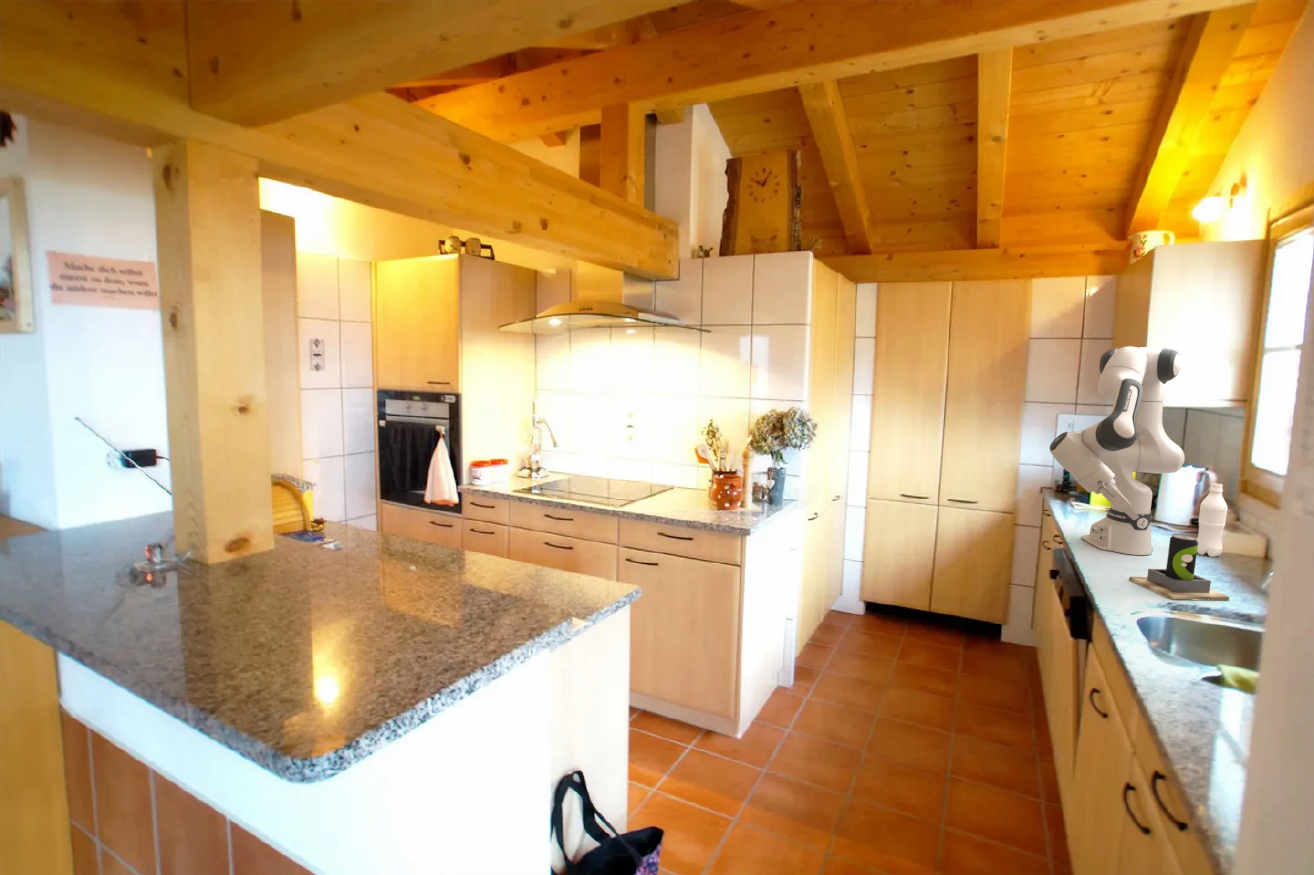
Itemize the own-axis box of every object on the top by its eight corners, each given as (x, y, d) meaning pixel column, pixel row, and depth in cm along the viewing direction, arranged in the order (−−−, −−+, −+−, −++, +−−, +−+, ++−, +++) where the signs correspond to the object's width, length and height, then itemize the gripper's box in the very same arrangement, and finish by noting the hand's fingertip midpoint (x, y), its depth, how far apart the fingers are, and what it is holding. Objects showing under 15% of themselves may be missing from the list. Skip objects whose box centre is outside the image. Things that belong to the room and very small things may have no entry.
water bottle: (1227, 557, 215) (1236, 486, 212) (1207, 558, 215) (1216, 486, 212) (1207, 551, 222) (1217, 482, 219) (1188, 551, 222) (1197, 481, 219)
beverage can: (1166, 581, 188) (1172, 532, 186) (1193, 586, 184) (1199, 536, 182) (1162, 586, 184) (1169, 536, 182) (1190, 592, 179) (1197, 541, 177)
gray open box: (1146, 580, 189) (1148, 568, 188) (1179, 580, 189) (1181, 569, 188) (1174, 592, 179) (1176, 580, 178) (1209, 592, 179) (1210, 581, 178)
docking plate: (1129, 579, 192) (1129, 576, 191) (1180, 580, 192) (1180, 577, 192) (1172, 599, 176) (1173, 596, 176) (1228, 600, 176) (1229, 596, 176)
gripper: (1112, 478, 180) (1150, 516, 177) (1102, 467, 198) (1137, 502, 194) (1091, 491, 183) (1129, 529, 179) (1083, 480, 200) (1118, 514, 197)
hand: (1133, 515), depth 187 cm, fingers open, 8 cm apart
